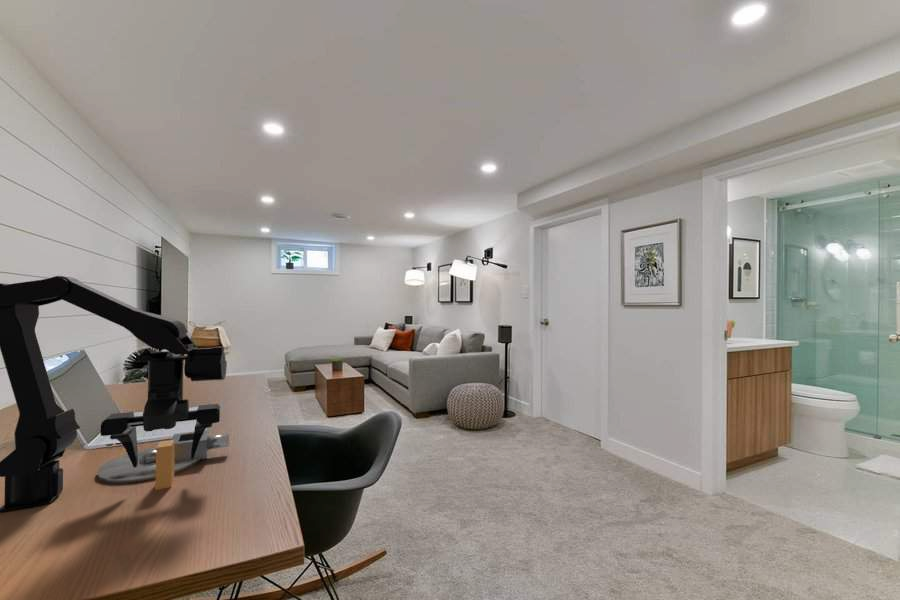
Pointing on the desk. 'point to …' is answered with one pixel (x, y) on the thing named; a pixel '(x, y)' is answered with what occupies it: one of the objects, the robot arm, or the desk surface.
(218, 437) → the rosette bracket
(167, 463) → the yellow orange block
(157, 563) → the desk surface
